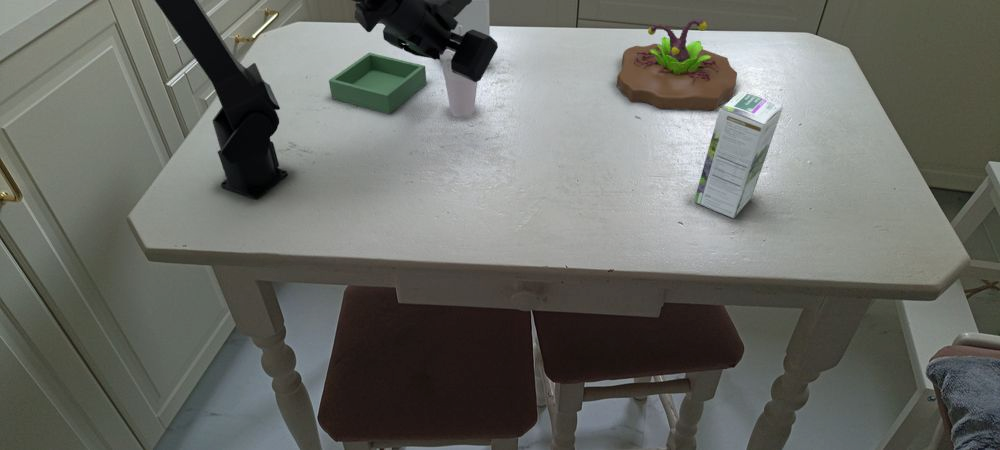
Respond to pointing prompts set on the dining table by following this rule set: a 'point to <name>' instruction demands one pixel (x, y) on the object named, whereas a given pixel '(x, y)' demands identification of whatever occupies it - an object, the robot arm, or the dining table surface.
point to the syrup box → (737, 153)
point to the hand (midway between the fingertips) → (467, 65)
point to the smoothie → (458, 87)
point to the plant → (676, 73)
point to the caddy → (378, 82)
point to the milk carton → (474, 18)
